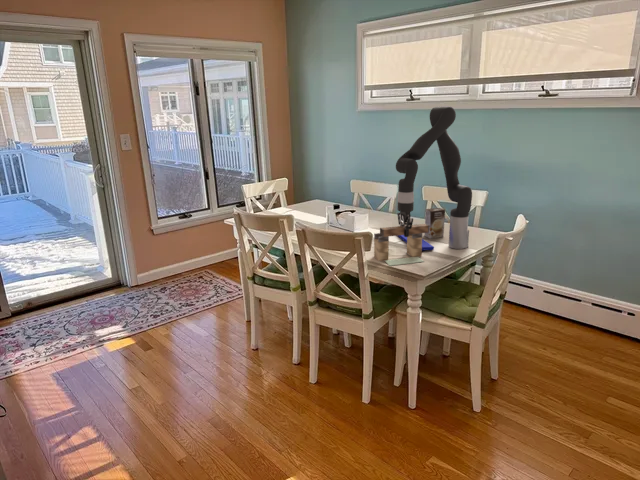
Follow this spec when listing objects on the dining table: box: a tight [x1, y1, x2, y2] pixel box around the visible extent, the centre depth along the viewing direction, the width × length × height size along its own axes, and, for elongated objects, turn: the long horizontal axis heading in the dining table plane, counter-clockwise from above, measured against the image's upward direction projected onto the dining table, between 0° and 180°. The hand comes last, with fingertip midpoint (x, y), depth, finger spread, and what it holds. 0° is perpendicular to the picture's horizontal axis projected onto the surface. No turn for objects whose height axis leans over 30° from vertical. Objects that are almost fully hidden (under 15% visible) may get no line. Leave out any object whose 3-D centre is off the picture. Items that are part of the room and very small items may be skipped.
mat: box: [384, 256, 425, 267], centre depth 220 cm, size 18×7×1 cm, turn 103°
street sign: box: [397, 235, 435, 251], centre depth 250 cm, size 34×3×10 cm
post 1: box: [373, 232, 390, 262], centre depth 224 cm, size 5×7×12 cm
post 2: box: [406, 233, 423, 257], centre depth 227 cm, size 5×7×12 cm
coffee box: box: [424, 207, 446, 239], centre depth 255 cm, size 9×6×16 cm
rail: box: [379, 223, 429, 237], centre depth 215 cm, size 24×4×4 cm, turn 103°
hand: (404, 235), depth 216 cm, fingers closed on rail, 3 cm apart
